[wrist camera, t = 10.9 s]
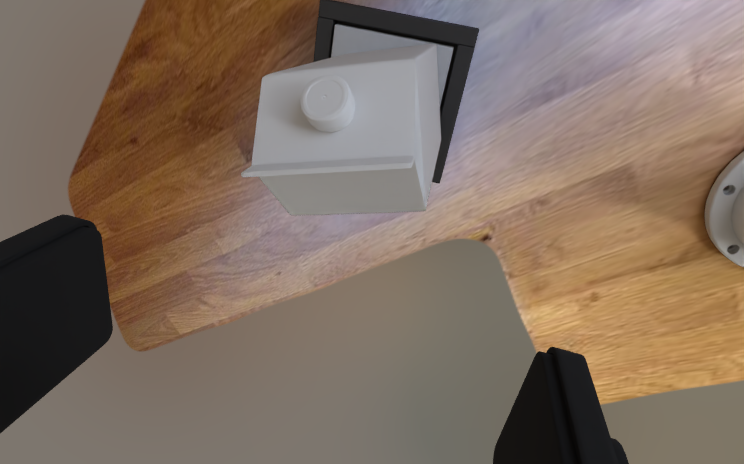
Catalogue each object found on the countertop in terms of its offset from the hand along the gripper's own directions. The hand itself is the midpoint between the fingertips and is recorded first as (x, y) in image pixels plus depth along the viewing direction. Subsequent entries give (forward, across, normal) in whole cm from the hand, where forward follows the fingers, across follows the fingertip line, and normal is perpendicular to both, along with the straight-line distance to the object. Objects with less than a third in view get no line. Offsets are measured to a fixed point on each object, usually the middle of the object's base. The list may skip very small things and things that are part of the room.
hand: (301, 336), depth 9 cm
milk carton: (+28, +3, 0) cm, 29 cm away
